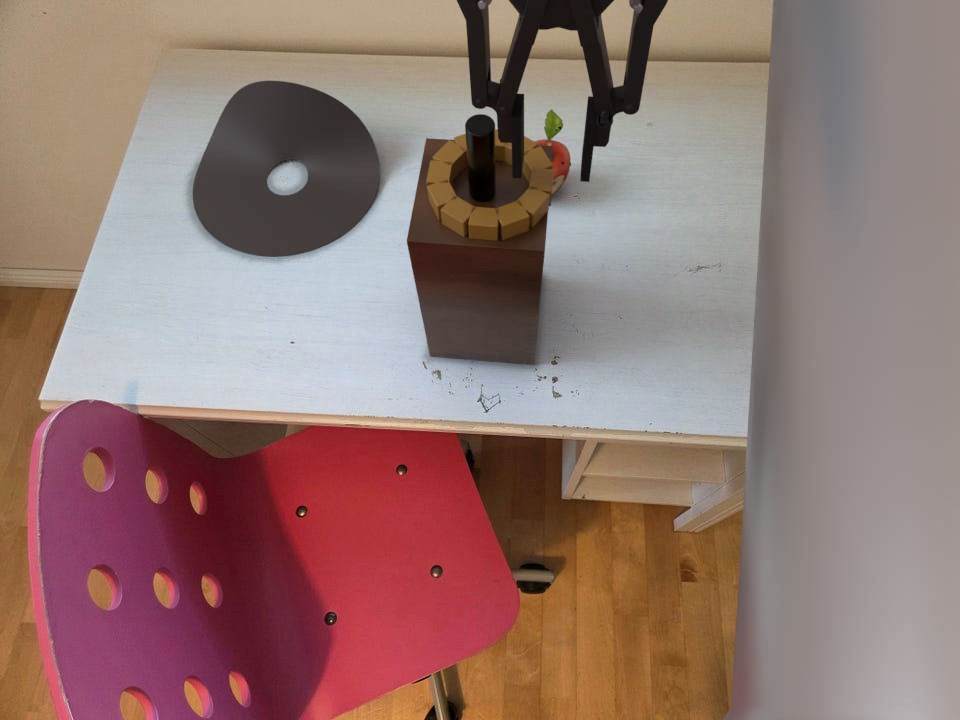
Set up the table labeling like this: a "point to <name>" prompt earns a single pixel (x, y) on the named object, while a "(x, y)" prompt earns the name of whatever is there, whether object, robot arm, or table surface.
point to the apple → (556, 150)
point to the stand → (477, 275)
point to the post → (481, 157)
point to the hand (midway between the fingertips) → (551, 167)
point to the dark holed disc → (267, 141)
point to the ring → (482, 219)
